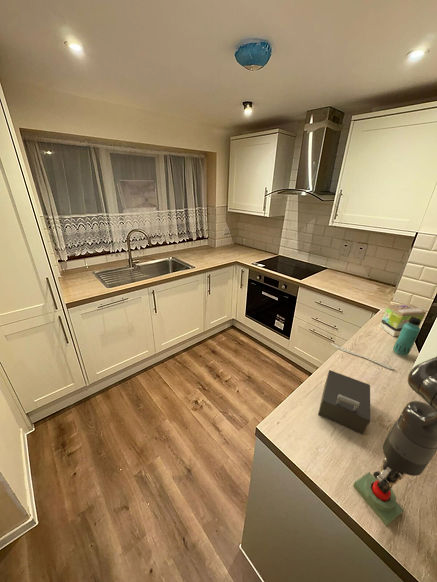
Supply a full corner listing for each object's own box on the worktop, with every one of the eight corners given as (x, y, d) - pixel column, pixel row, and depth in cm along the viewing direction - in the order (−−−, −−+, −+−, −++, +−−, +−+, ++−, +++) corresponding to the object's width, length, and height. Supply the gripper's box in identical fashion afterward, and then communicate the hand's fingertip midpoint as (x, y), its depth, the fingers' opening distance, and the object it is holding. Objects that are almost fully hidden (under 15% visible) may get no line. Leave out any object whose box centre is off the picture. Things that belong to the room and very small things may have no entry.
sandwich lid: (368, 424, 72) (374, 413, 70) (321, 403, 78) (325, 392, 76) (368, 387, 85) (373, 377, 83) (328, 372, 92) (331, 362, 89)
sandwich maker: (362, 435, 76) (368, 422, 73) (318, 414, 82) (322, 402, 79) (363, 400, 88) (368, 387, 85) (324, 384, 94) (328, 372, 92)
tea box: (393, 337, 126) (403, 313, 120) (378, 326, 135) (387, 304, 128) (416, 334, 129) (427, 311, 123) (399, 324, 138) (409, 302, 131)
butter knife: (393, 370, 102) (394, 366, 104) (329, 344, 117) (331, 341, 119) (393, 371, 102) (394, 367, 104) (329, 345, 118) (331, 342, 120)
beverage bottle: (389, 353, 113) (405, 318, 105) (393, 347, 118) (408, 313, 109) (406, 360, 109) (423, 324, 101) (409, 354, 113) (426, 319, 105)
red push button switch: (368, 475, 65) (372, 467, 64) (402, 512, 58) (407, 505, 56) (352, 486, 63) (355, 478, 61) (385, 527, 55) (390, 520, 54)
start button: (377, 481, 61) (380, 477, 60) (391, 496, 58) (394, 493, 57) (368, 488, 60) (370, 484, 59) (382, 504, 57) (385, 500, 56)
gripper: (409, 477, 45) (380, 520, 53) (446, 448, 50) (414, 492, 58) (372, 441, 51) (351, 484, 59) (408, 419, 56) (384, 461, 64)
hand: (382, 488), depth 58 cm, fingers closed
